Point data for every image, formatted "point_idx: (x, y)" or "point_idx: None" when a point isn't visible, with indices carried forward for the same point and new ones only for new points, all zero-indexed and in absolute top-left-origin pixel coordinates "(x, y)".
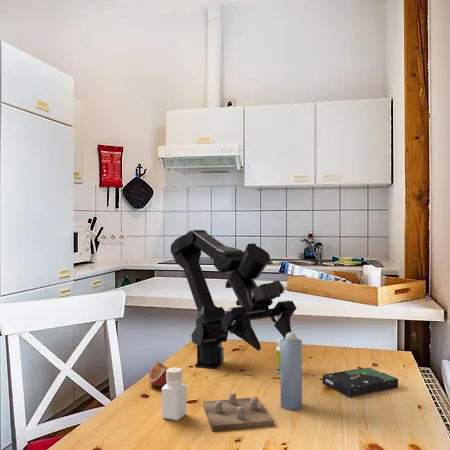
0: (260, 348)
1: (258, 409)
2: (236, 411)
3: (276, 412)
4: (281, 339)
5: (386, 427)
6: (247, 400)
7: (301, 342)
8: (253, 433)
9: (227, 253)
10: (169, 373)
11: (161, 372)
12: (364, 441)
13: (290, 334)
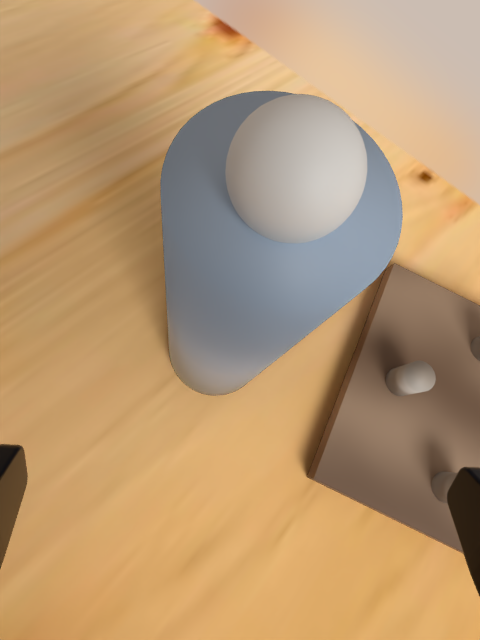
0: (465, 468)
1: (385, 367)
2: (469, 406)
3: (307, 340)
4: (338, 298)
5: (94, 43)
6: (372, 473)
7: (227, 101)
8: (467, 272)
9: None
10: None
11: None
12: (229, 48)
13: (345, 118)
